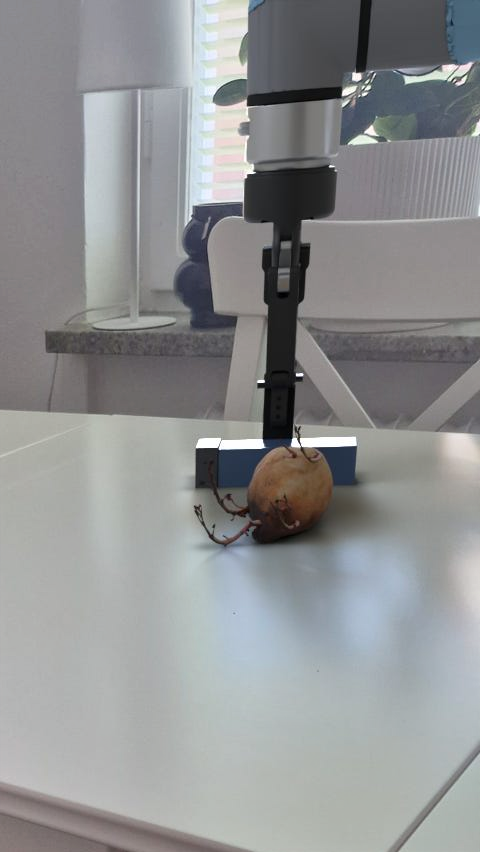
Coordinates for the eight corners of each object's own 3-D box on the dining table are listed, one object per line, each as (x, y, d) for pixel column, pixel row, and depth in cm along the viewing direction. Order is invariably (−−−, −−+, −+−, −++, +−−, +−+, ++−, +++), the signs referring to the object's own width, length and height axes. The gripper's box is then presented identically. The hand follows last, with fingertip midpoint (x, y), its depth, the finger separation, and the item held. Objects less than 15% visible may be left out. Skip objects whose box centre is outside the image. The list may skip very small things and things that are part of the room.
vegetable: (181, 465, 102) (239, 356, 96) (290, 520, 103) (354, 416, 98) (172, 525, 89) (238, 404, 84) (297, 588, 90) (371, 472, 85)
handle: (353, 477, 106) (356, 434, 104) (354, 487, 103) (357, 443, 101) (199, 480, 110) (199, 438, 108) (195, 490, 107) (195, 447, 105)
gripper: (248, 167, 102) (239, 445, 114) (239, 171, 91) (230, 478, 103) (337, 160, 100) (318, 443, 112) (338, 164, 89) (318, 477, 101)
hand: (276, 460), depth 108 cm, fingers closed
